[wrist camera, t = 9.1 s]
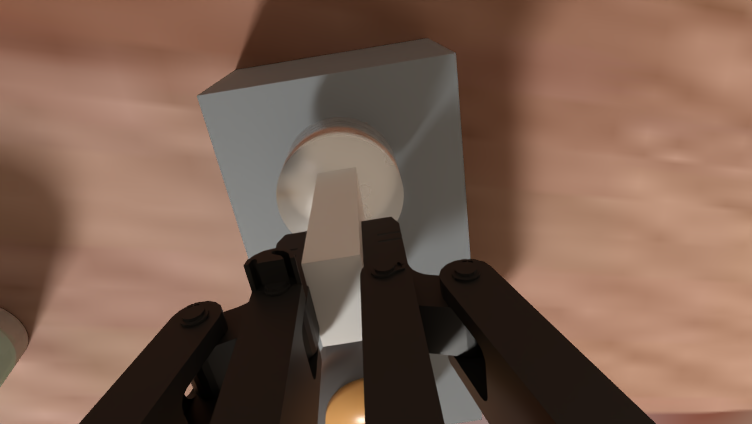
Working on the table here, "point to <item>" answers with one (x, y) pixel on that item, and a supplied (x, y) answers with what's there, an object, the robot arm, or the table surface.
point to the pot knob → (342, 385)
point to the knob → (334, 152)
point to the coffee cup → (10, 343)
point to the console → (378, 109)
